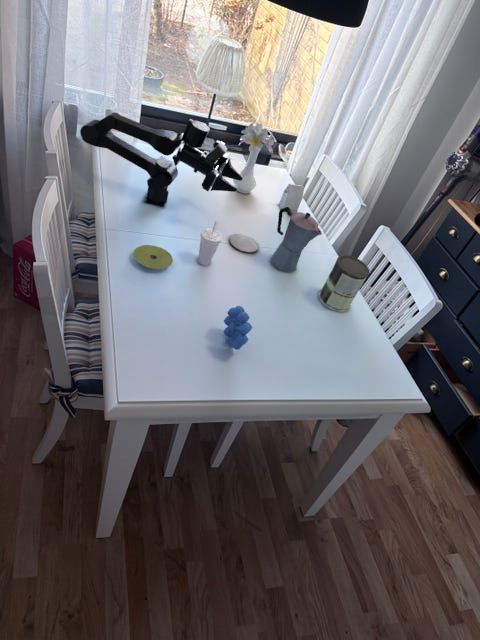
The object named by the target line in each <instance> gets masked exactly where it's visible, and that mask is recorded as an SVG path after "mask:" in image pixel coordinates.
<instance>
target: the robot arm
mask: <svg viewBox="0 0 480 640" xmlns="http://www.w3.org/2000/svg"><path fill="white" fill-rule="evenodd" d="M112 130H115V131H118V132H120V133H122V134H125V135H127V136H129V137H131V138H134V139H137V140H139V141H141V142H144V143H147V144H148V145H149V146H151V148H152V149H153V150H154V151H156V152H158V153H159V154H162V155H161V156H159V158H155V157H153V156H151V155H149V154H148V153H146V152H144V151H142V150H141V149H139V148H137V147H135V146H133V145H132V144H130V143H129V142H127V141H125V140H123V139H121V138H120V137H118V136H116V135H115V134H114V133H113V131H112ZM79 132H80V137H81V140H82V141H83V142H84V143H86V144H88V145H90V146H93V147H96V148H102V149H107V150H109V151H110V152H112V153H114V154H115V155H117V156H119V157H121V158H123V159H124V160H126V161H128V162H129V163H131V164H133V165H135V166H137V167H138V168H140V169H142V170H143V171H145V172H147V174H148V176H149V178H148V179H147V180H146V183H147V191H146V196H145V200H144V202H145V203H146V204H150V205H154V206H158V207H162V208H163V207H164V208H165V205H166V204H167V202H168V197H169V192H170V189H169V186H170V185H172V183H173V182H174V181H175V180H176V178H177V177H178V175H179V169H178V167H177V165H178V164H179V163H180V162H181V163H183V164H184V165H187V166H188V167H190V168H191V169H193V172H194V173H195V174H197V173H201V175H203V176H205V177H204V178H203V180H202V182H201V188H202V189H203V190H204V191H207V192H209V191H211V192H213V191H216V192H217V191H218V192H221V191H222V192H231V193H236V191H237V188H235V185H233V184H232V183H231V182H229V181H228V180H226V179H225V178H228V179H232V180H233V179H235V180H240V181H242V179H243V177H242V176H241V175H240V174H239V171H238V170H236V169H235V168H234V167H233V165H232V162H231V158H230V155H229V154H228V153H227V151H228V150H229V149H228V148H227V146H226V143H225V142H223V141H222V140H221V141H220V140H218V139H217V140H215V141H214V143H213V144H212V147H213V148H212V149H211V150H210V151H208V150H204V151H201V150H199V149H198V148H202V147H203V146H204V143H205V142H206V139H207V137H208V135H209V133H210V127H209V126H208V125H207V124H206V123H204V122H203V121H202V122H201V121H198V120H193V119H191V118H190V119H188V121H187V122H186V125H185V129H184V131H183V132H178V133H177V132H175V131H172V130H169V129H160V128H159V129H158V128H153V127H150V126H147V125H146V124H143V123H140V122H139V121H136V120H133V119H131V118H128V117H126V116H123V115H121V114H119V113H118V112H115V111H113V112H111V113H110V114H108V115H106V116H105V117H104V118H101V119H100V120H99V119H92V120H91V121H89V122H87V123H86V124H84V125H83V126H81V129H80V131H79ZM182 144H183V145H182ZM181 145H182V146H181ZM177 149H178V150H177ZM176 151H177V152H176ZM175 152H176V154H174V153H175ZM171 155H173V156H172V158H171V159H172V160H169V159H168V158H167V157H168V156H171ZM166 156H167V157H166ZM224 177H225V178H224Z"/></svg>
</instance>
